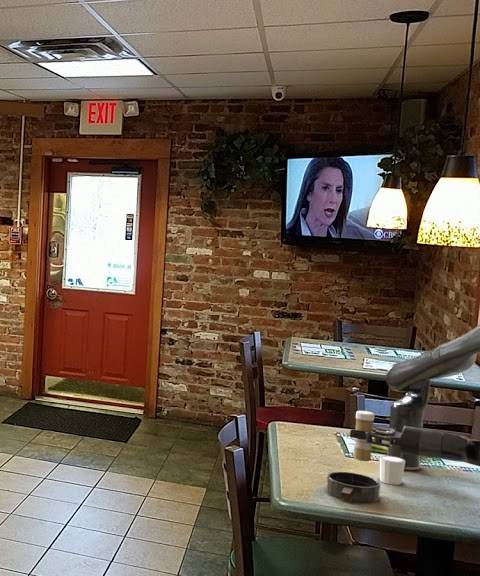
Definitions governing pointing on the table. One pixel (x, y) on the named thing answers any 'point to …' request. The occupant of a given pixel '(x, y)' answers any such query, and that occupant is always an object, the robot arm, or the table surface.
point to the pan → (354, 486)
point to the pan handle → (347, 494)
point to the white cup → (391, 469)
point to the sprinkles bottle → (360, 445)
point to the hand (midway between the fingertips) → (352, 431)
